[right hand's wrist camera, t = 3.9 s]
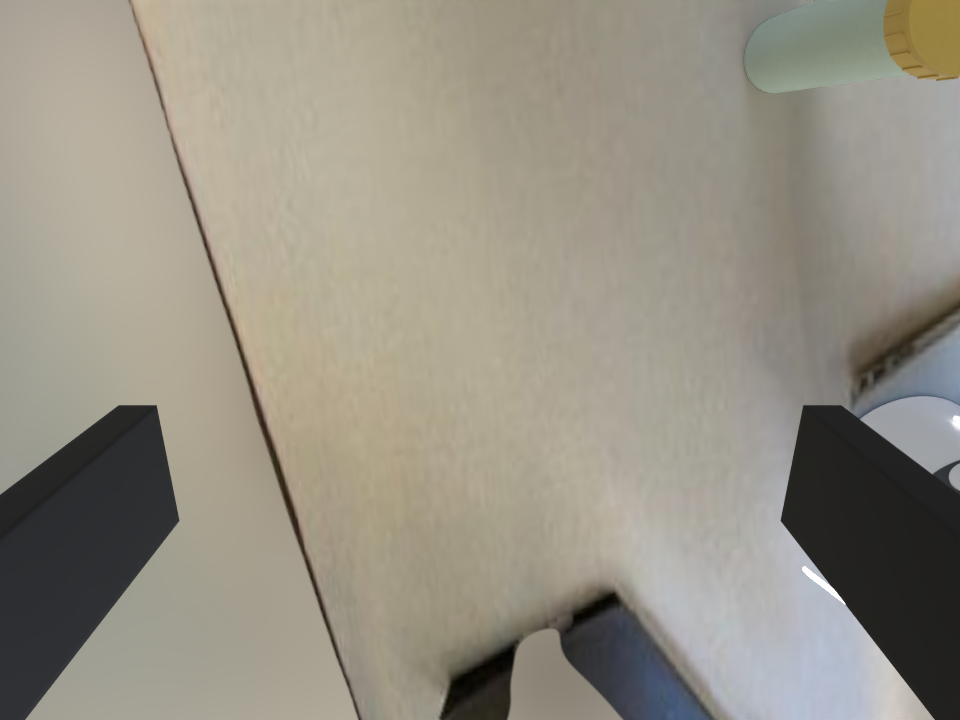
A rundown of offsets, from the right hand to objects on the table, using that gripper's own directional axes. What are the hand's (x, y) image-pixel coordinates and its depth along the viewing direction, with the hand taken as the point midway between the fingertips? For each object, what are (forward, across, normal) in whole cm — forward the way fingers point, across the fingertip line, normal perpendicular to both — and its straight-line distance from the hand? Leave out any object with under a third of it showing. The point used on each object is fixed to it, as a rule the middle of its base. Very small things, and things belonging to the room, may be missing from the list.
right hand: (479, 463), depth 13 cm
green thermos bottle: (+41, +23, +12) cm, 48 cm away
